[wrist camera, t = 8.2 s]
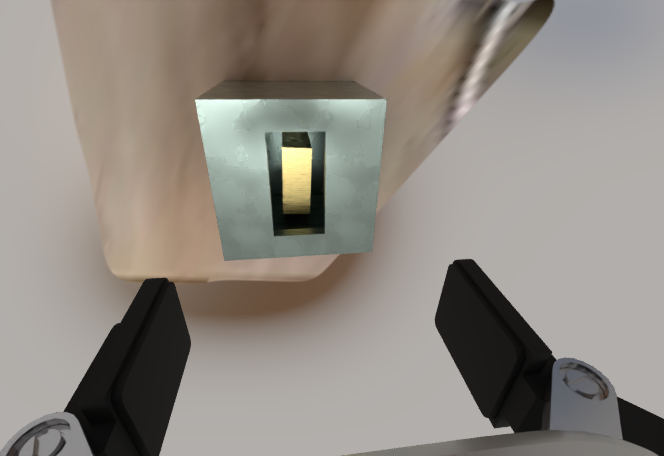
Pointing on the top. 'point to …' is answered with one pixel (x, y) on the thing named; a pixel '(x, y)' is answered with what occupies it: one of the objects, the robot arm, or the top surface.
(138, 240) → the top surface
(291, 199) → the wooden block
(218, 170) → the coin box
